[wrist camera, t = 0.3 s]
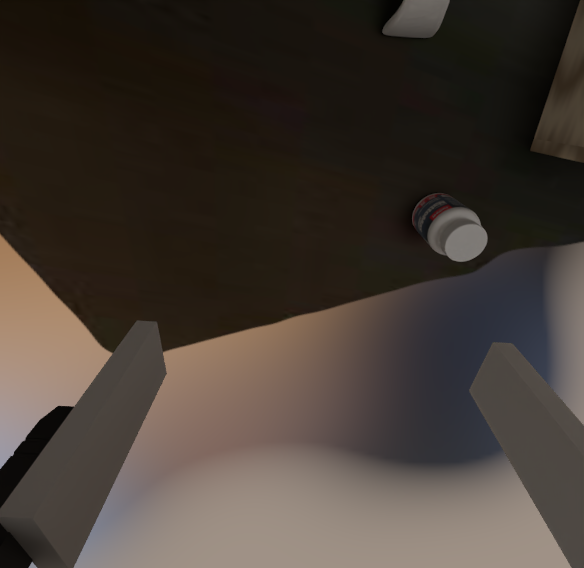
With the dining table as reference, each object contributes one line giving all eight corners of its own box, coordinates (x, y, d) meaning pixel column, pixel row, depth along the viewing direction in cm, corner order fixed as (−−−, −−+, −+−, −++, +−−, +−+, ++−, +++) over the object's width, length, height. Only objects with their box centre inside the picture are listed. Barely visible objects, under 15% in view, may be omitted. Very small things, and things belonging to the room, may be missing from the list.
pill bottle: (429, 184, 37) (464, 206, 29) (465, 204, 38) (507, 231, 30) (402, 223, 39) (427, 254, 31) (436, 241, 40) (468, 275, 33)
